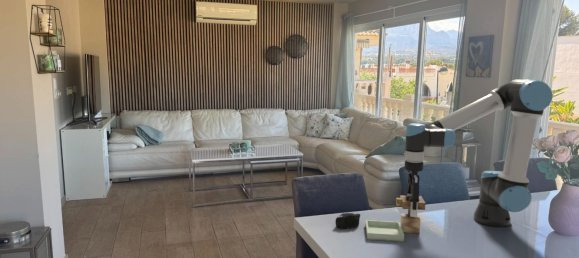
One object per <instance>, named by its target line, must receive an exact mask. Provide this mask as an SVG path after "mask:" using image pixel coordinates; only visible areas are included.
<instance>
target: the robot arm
mask: <svg viewBox="0 0 579 258" xmlns="http://www.w3.org/2000/svg"><path fill="white" fill-rule="evenodd" d="M552 101H553V92H552V89H551V87H550V86H549V85H548V84H547V83H546V82H544V81H542V80H538V79H526V78H517V79H513V80H510V81H508V82H506V83H504V84H502V85H500V86H497V87H496V88H494V89H491V90H490V92H489V94H487V95H485V96H483V97H481V98H479V99H477V100H475V101H472V103H469V104H466V105H465V106H463V107H461V108H459V109H457V110H455V111H452V112H450V113H448V114H446V115H444V116H442V117H440V118H439V119H437V120H434V121H433V122H427V123H408V124H407V126H406V129H405V152H404V153H403V155H404V159H405V161H404V170H406V171H407V181H406V193H407V194H406V196H411V199H412V200H410V202H411V209H410V217H417V214H418V211H419V210H418V202H419V196H420V175H419V172H423V170H424V159H425V147H426V148H453V146H454V145H455V144H456V138H457V137H456V132H455V131H456V130H459V129H461V128H463V127H465V126H468V125H469V124H471V123H473V122H475V121H478V120H479V119H481V118H484V117H485V116H487V115H490V114H492V113H494V112H496V111H498V110H499V111H503V110H505V109H507V108H510V110H509V111H510V113H511V115H512V121H511V126H510V131H509V133H510V134H509V137H508V141H507V143H508V144H507V147H506V154H505V158H504V164H503V167H502V168H503V170H501V171H499V170H485V171H482V173H481V177H480V189H479V201H478V204H477V206H476V209H475V210H474V213H473V220H474V221H475V222H477V223H479V224H482V225H486V226H489V227H497V228H500V227H501V228H502V227H509V226H510V225H511V221H512V220H511V214H510V213H519V212H523V211H524V210H526V209H527V208H528V207H529V206H530V204H531V202H532V199H533V197H532V194H531V191H530V190H529V184H530V180H529V178H528V177H527V172H528V167H529V163H530V159H531V158H530V157H531V154H532V153H531V152H532V148H533V143H534V137H535V132H536V128H537V127H536V126H537V122H538V119H540V118H541V117H543V115H544V110H545V109H547V107H549V106H550V105H551V103H552Z"/></svg>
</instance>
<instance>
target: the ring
mask: <svg viewBox="0 0 579 258" xmlns="http://www.w3.org/2000/svg"><path fill="white" fill-rule="evenodd" d="M410 197H411V196H407V195H403V194H402V195H399V197H396V198H395V204H396V207H401V209H402V210H408V209H411V202H410V201H409V198H410ZM419 210H420V211H424V210H426V202H425V200H424V199H423V197H422V195H419V202H418V210H417V211H419Z"/></svg>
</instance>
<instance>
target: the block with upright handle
mask: <svg viewBox="0 0 579 258" xmlns="http://www.w3.org/2000/svg"><path fill="white" fill-rule="evenodd" d="M410 200H412V199H411V197H410V198H409V201H410ZM400 214H401V215H400V225H401V227H402V230H403V233H411V234H413V233H414V234H420V231H421V230H420V228H421V218H420V216H419V214H418V213H417V217H410V209H407V213H400Z"/></svg>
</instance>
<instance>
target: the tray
mask: <svg viewBox="0 0 579 258" xmlns="http://www.w3.org/2000/svg"><path fill="white" fill-rule="evenodd" d="M364 226H365V232H366V239H367V240H368V241H384V242H396V241H397V243H398V242H399V243H400V242H401V243H405V232H403V230H402V227H401V221H390V220H372V219H365V225H364Z"/></svg>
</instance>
